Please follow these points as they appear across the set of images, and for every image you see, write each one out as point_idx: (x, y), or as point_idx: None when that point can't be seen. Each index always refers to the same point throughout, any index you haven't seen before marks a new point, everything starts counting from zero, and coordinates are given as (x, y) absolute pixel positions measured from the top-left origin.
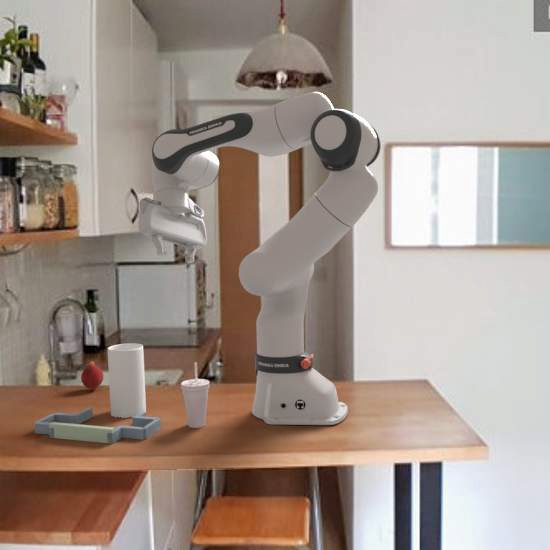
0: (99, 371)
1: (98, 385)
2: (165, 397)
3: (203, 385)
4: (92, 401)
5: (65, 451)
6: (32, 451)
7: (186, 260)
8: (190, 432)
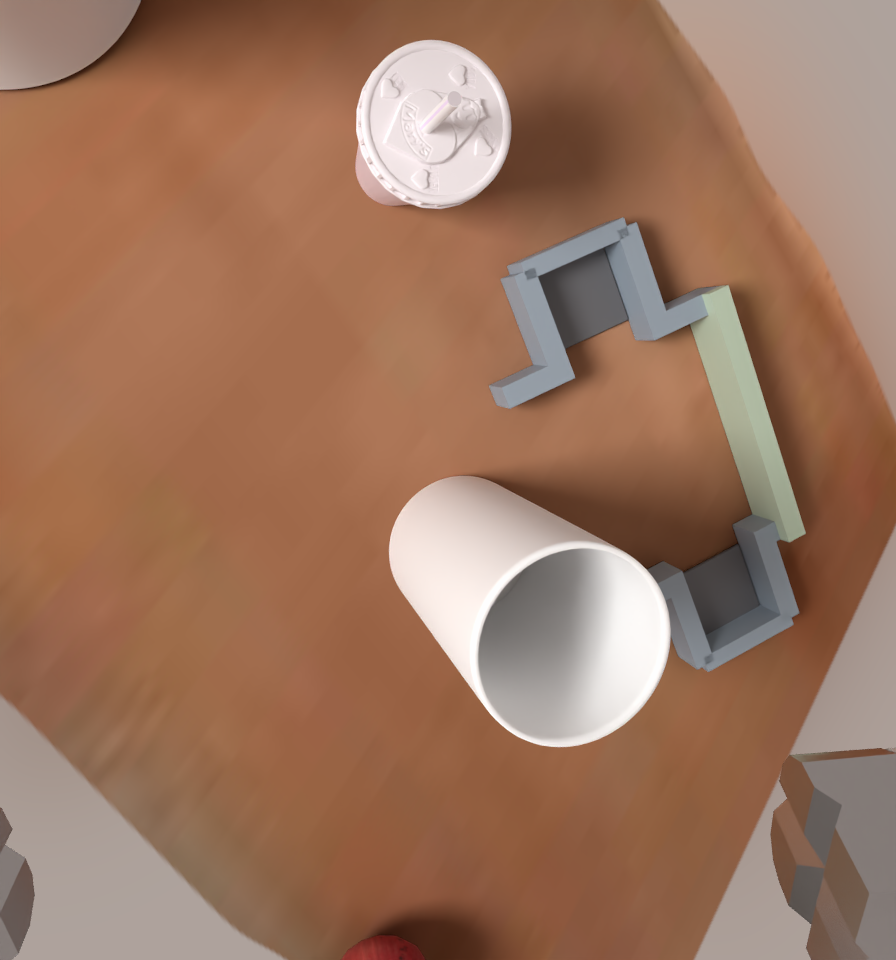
0: None
1: (365, 939)
2: (221, 606)
3: (446, 43)
4: (463, 797)
5: (811, 363)
6: (860, 449)
7: (14, 911)
8: None
